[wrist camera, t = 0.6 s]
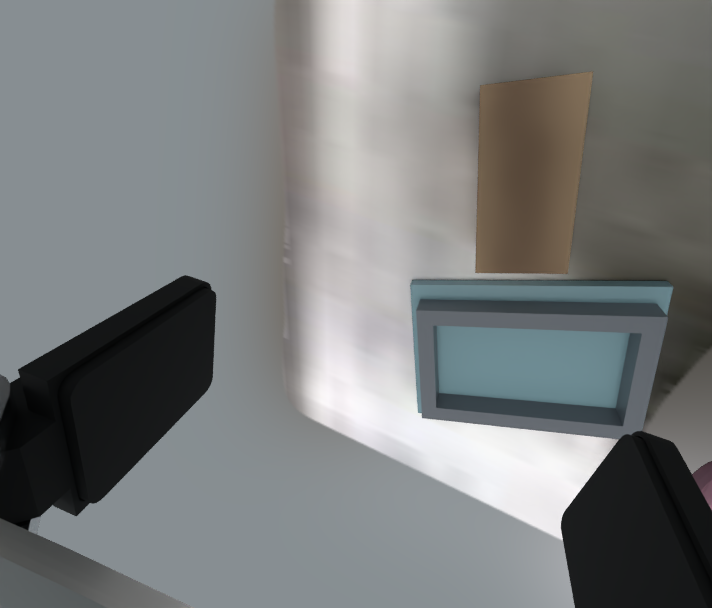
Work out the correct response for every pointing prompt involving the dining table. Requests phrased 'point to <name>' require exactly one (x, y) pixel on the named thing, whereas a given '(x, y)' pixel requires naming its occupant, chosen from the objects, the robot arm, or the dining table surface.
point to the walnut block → (529, 172)
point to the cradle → (539, 352)
